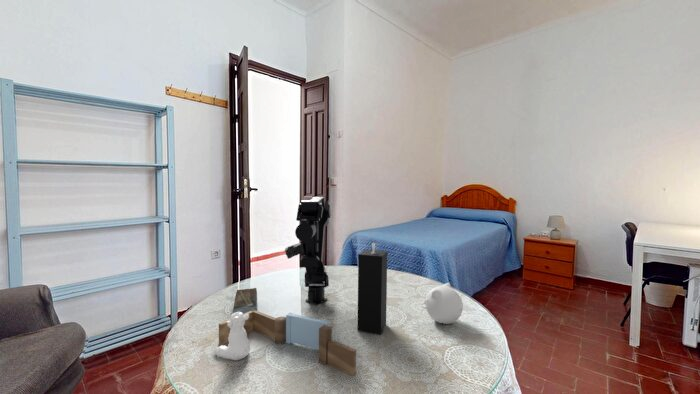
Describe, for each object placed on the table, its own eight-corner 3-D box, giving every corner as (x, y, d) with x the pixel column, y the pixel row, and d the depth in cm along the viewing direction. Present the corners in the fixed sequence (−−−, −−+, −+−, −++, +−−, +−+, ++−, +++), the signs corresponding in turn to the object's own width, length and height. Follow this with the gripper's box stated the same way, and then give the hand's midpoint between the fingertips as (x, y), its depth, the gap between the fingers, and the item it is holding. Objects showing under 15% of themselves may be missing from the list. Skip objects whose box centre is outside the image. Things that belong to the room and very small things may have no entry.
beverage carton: (232, 326, 99) (232, 306, 99) (236, 304, 117) (236, 288, 117) (257, 323, 102) (256, 304, 101) (257, 302, 120) (257, 286, 119)
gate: (286, 342, 88) (286, 314, 88) (289, 339, 90) (289, 312, 89) (325, 353, 82) (325, 324, 82) (328, 350, 84) (329, 321, 84)
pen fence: (257, 326, 99) (257, 299, 99) (360, 369, 76) (360, 334, 76) (218, 343, 88) (218, 313, 87) (326, 400, 65) (326, 359, 65)
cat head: (453, 336, 93) (454, 297, 93) (416, 323, 102) (416, 287, 102) (471, 321, 105) (472, 286, 104) (436, 310, 113) (437, 278, 113)
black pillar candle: (386, 324, 101) (387, 241, 100) (381, 335, 94) (382, 245, 93) (363, 320, 104) (365, 239, 103) (357, 331, 96) (358, 243, 95)
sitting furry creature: (246, 342, 89) (246, 302, 88) (261, 354, 83) (261, 310, 82) (213, 354, 82) (213, 311, 82) (226, 368, 76) (226, 321, 76)
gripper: (288, 232, 114) (288, 273, 114) (284, 241, 95) (283, 290, 96) (318, 232, 115) (317, 272, 116) (319, 240, 96) (319, 289, 97)
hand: (309, 280), depth 106 cm, fingers closed
